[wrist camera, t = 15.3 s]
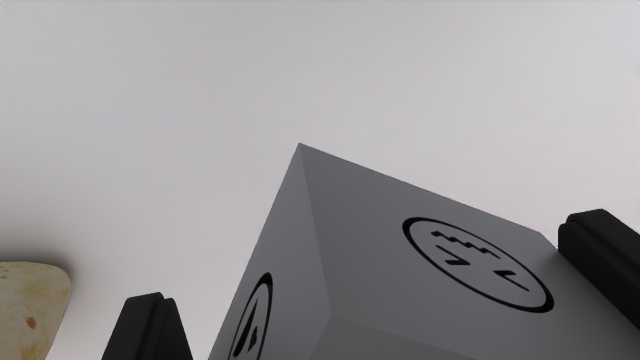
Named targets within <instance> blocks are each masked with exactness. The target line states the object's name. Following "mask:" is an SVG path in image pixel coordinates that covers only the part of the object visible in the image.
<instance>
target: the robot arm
mask: <svg viewBox="0 0 640 360" xmlns="http://www.w3.org/2000/svg"><path fill="white" fill-rule="evenodd" d="M558 252H559V253H561V254H562V255H563V256H564V257H565V258H566V259H567V260H568V261H569V262H570V263H571V264H572V265H573V266H574V267H575V268H576V269H577V270H578V271H579V272H580V273H581V274H582V275H583V276H584V277H585V278H586V279H587V280H588V281H589V282H590V283H591V284H592V285H593V286H594V287H595V288H596V289H597V290H598V291H599V292H600V293H601V294H602V295H603V296H604V297H606V298H607V299H608V300H609V301H610V302H611V303H612V304H613V305H614V306H615V307H616V308H617V309H618V310H619V311H620V312H621V313H622V314H623V315H624V316H625V317H626V318H627V319H628V320H629V321H630V322H631V323H632V324H633V325H634V326H635V327H636V328H637V329H638V330H639V331H640V235H639V234H638V233H637V232H635V231H634V230H632V229H631V228H630V227H628V226H627V225H626V224H624V223H623V222H621V221H620V220H619V219H617V218H616V217H614V216H613V215H612V214H610V213H609V212H608V211H606V210H604V209H596V210H591V211H585V212H580V213H575V214H570V215H569V216H568V218H567V220H566V223H564V224H561V225H560V226H559V229H558ZM101 360H193V357H192V354H191V351H190V348H189V344H188V341H187V338H186V335H185V332H184V328H183V325H182V322H181V319H180V315H179V312H178V309H177V306H176V303H175V301H174V299H173V298H168V299H164V297H163V295H162V294H161V293H160V292H156V293H151V294H146V295H140V296H135V297H130V298H127V300H126V301H125V304H124V306H123V308H122V311H121V313H120V316H119V318H118V320H117V323H116V325H115V328H114V330H113V332H112V335H111V337H110V340H109V342H108V345H107V347H106V349H105V352H104V354H103V357H102V359H101Z"/></svg>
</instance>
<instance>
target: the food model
mask: <svg viewBox="0 0 640 360" xmlns="http://www.w3.org/2000/svg"><path fill="white" fill-rule="evenodd" d="M71 294H72V283H71V280H70V278H69V277H68V275H67V274H66V272H65V271H64V270H62V269H60V268H58V267H56V266H52V265H47V264H42V263H35V262H27V261H17V262H0V360H45V358H46V356H47V354H48V352H49V350H50V348H51V346H52V344H53V341H54V339H55V336H56V334H57V331H58V329H59V326H60V323H61V321H62V318H63V316H64V313H65V311H66V308H67V305H68V302H69V300H70V297H71Z"/></svg>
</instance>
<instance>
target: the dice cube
mask: <svg viewBox="0 0 640 360" xmlns="http://www.w3.org/2000/svg"><path fill="white" fill-rule="evenodd" d="M208 360H640V331H639V330H638V329H637V328H636V327H635V326H634V325H633V324H632V323H631V322H630V321H629V320H628V319H627V318H626V317H625V316H624V315H623V314H622V313H621V312H620V311H619V310H618V309H617V308H616V307H615V306H614V305H613V304H612V303H611V302H610V301H609V300H608V299H607V298H606V297H604V296H603V295H602V294H601V293H600V292H599V291H598V290H597V289H596V288H595V287H594V286H593V285H592V284H591V283H590V282H589V281H588V280H587V279H586V278H585V277H584V276H583V275H582V274H581V273H580V272H579V271H578V270H577V269H576V268H575V267H574V266H573V265H572V264H571V263H570V262H569V261H568V260H567V259H566V258H565V257H564V256H563V255H562V254H561V253H559V252H558V250H557V249H556V248H555V247H554V246H553V245H552V244H551V243H550V242H549V241H548V240H547V239H546V238H545V237H544V236H543V235H542V234H541V233H540V232H537V231H535V230H532V229H529V228H527V227H524V226H521V225H519V224H516V223H513V222H511V221H508V220H505V219H503V218H500V217H497V216H494V215H492V214H489V213H486V212H484V211H481V210H478V209H476V208H473V207H470V206H468V205H465V204H462V203H460V202H457V201H454V200H452V199H449V198H446V197H443V196H441V195H438V194H435V193H433V192H430V191H427V190H425V189H422V188H419V187H417V186H414V185H411V184H409V183H406V182H403V181H401V180H398V179H395V178H392V177H390V176H387V175H384V174H382V173H379V172H376V171H374V170H371V169H368V168H366V167H363V166H360V165H358V164H355V163H352V162H350V161H347V160H344V159H341V158H339V157H336V156H333V155H331V154H328V153H325V152H323V151H320V150H317V149H315V148H312V147H309V146H307V145H304V144H301V143H299V144H298V146H297V148H296V151H295V153H294V155H293V158H292V160H291V163H290V165H289V167H288V170H287V172H286V174H285V177H284V179H283V182H282V184H281V186H280V189H279V191H278V194H277V196H276V198H275V201H274V203H273V205H272V208H271V210H270V213H269V215H268V217H267V220H266V222H265V224H264V227H263V229H262V232H261V234H260V236H259V239H258V241H257V243H256V246H255V248H254V251H253V253H252V255H251V258H250V260H249V263H248V265H247V267H246V270H245V272H244V274H243V277H242V279H241V282H240V284H239V286H238V289H237V291H236V293H235V296H234V298H233V301H232V303H231V305H230V308H229V310H228V313H227V315H226V317H225V320H224V322H223V324H222V327H221V329H220V332H219V334H218V336H217V339H216V341H215V343H214V346H213V348H212V351H211V353H210V355H209V358H208Z"/></svg>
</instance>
